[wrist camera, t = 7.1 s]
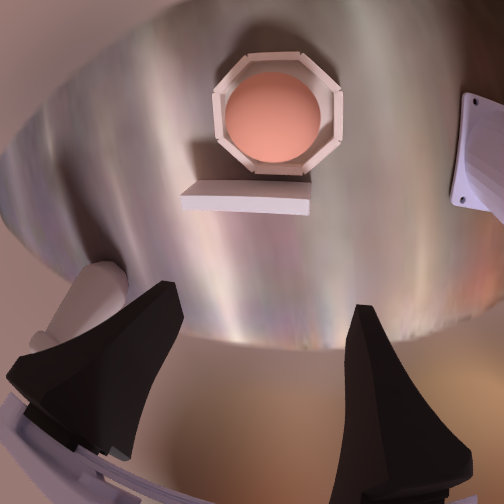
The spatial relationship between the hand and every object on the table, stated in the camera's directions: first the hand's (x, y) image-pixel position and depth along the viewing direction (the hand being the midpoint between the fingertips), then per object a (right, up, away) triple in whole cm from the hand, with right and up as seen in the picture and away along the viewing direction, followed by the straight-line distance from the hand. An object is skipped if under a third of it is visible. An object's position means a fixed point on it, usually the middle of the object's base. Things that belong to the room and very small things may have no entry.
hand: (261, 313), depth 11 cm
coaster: (+1, +11, +5) cm, 12 cm away
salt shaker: (-15, 0, +17) cm, 23 cm away
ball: (+1, +11, +5) cm, 12 cm away
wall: (0, +7, +8) cm, 11 cm away
